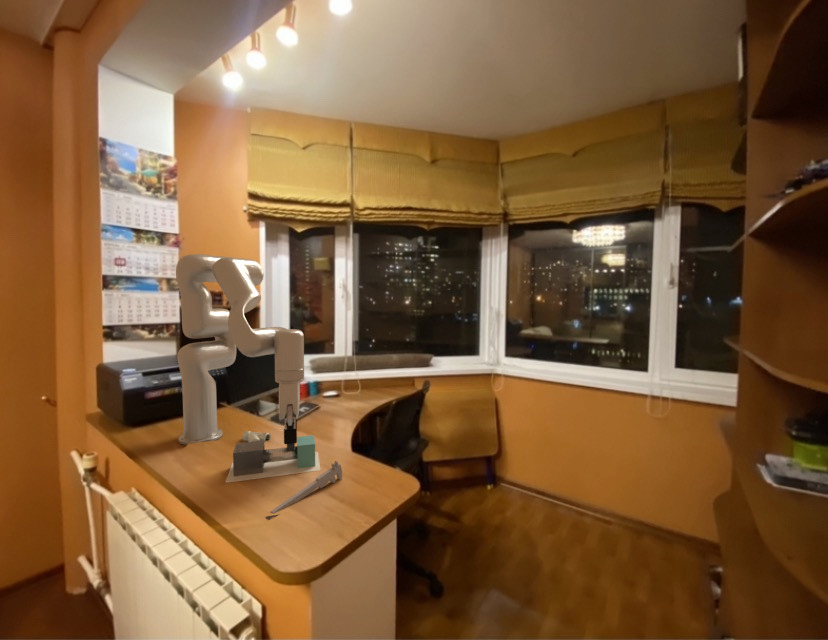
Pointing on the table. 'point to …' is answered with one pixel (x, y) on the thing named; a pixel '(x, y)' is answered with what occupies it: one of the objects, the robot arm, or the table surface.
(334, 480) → the caliper
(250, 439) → the pipe fitting
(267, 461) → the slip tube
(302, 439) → the socket block
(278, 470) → the base board
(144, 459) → the table surface
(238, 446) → the dark grey block
